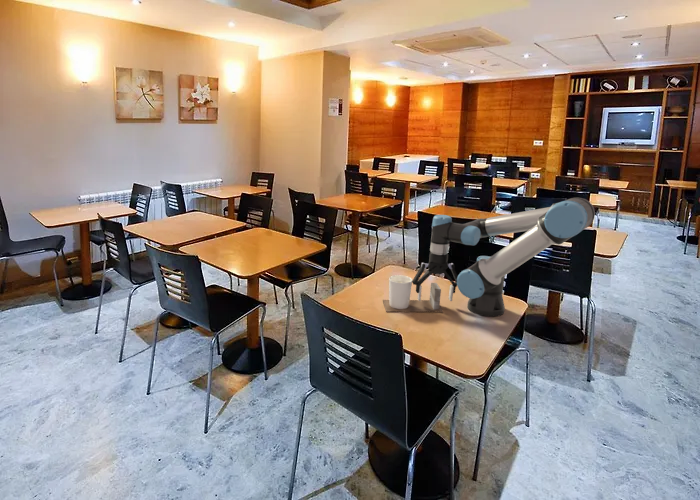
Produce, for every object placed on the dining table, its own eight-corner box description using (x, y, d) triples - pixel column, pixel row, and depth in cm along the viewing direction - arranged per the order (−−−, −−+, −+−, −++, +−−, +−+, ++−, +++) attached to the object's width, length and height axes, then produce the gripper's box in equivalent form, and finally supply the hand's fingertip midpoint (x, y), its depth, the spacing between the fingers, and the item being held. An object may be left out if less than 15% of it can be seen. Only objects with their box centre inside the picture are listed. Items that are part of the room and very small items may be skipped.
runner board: (436, 301, 196) (438, 281, 193) (443, 312, 185) (445, 291, 182) (382, 300, 195) (383, 280, 192) (386, 311, 183) (387, 290, 181)
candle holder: (409, 311, 184) (411, 284, 180) (386, 308, 185) (387, 281, 182) (411, 302, 193) (413, 276, 190) (388, 299, 195) (390, 274, 191)
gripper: (465, 250, 188) (460, 296, 194) (407, 249, 186) (404, 296, 192) (471, 255, 180) (465, 303, 186) (410, 254, 179) (407, 302, 185)
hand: (434, 299), depth 189 cm, fingers open, 13 cm apart
